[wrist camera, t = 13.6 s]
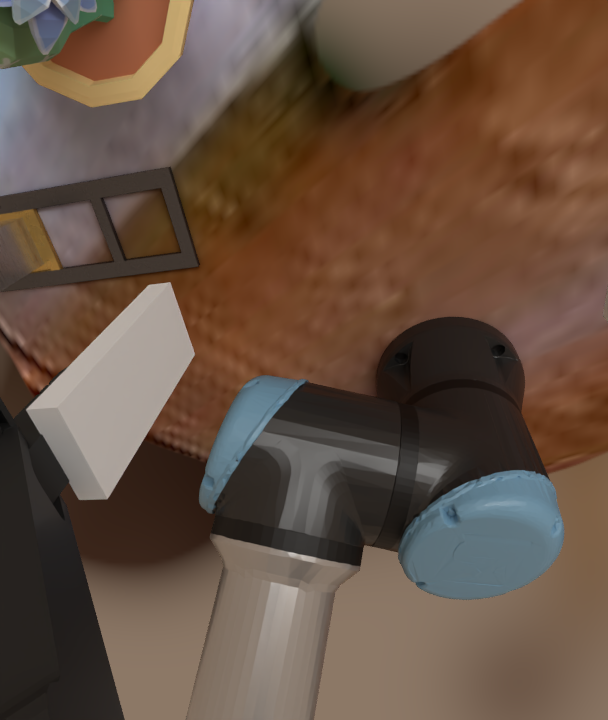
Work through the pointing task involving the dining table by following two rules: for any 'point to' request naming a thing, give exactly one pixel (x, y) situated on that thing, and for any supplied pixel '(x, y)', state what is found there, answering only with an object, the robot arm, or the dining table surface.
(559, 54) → the dining table surface
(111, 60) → the potted cactus
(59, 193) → the grey flat rectangular frame
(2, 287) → the grey rectangular block
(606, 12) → the dining table surface
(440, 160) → the dining table surface
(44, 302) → the dining table surface
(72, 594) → the robot arm
